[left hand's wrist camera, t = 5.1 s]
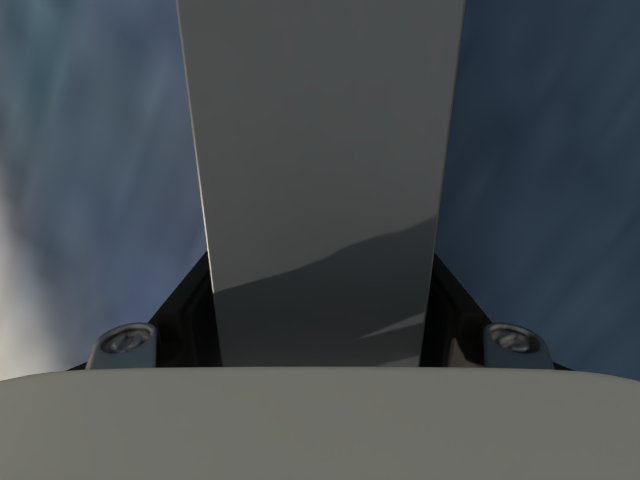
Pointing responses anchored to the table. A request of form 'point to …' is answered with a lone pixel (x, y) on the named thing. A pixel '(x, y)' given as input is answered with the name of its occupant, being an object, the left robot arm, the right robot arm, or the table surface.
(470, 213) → the table surface
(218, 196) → the beam
